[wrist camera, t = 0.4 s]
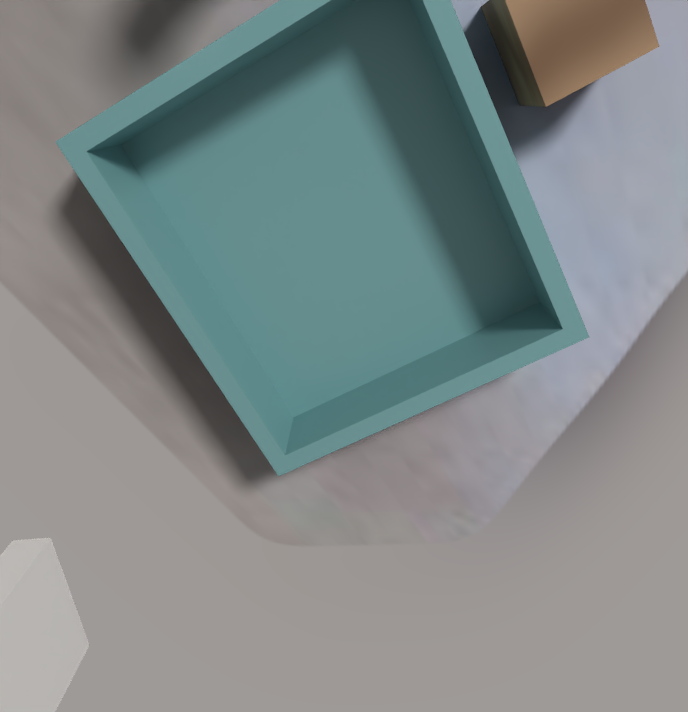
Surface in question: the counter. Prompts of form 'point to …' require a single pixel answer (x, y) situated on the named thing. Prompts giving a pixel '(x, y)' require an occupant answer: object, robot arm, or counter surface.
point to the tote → (332, 219)
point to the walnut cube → (566, 42)
